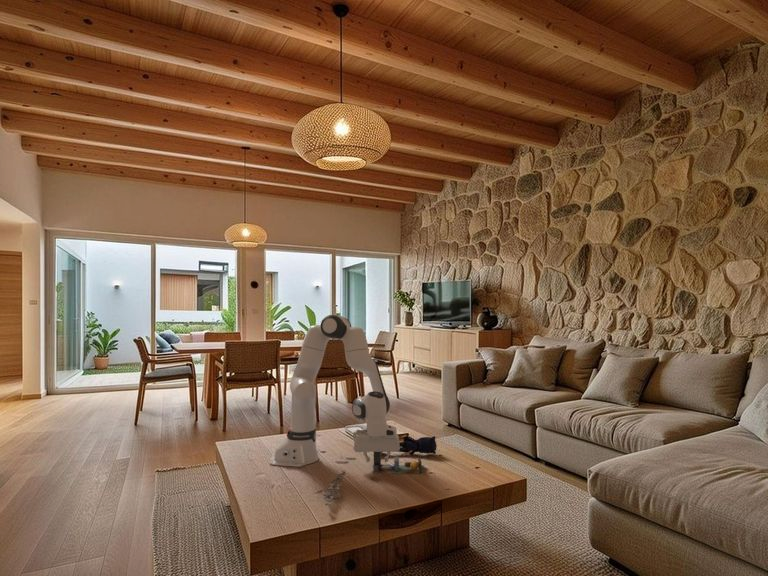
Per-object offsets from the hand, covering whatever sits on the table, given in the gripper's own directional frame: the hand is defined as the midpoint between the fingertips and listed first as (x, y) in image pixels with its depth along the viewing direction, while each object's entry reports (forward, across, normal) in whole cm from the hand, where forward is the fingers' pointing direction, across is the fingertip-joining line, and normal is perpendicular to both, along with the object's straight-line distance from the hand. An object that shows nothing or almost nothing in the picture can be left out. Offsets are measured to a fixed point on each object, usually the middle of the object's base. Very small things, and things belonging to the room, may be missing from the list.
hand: (377, 461), depth 199 cm
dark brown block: (+4, 0, 0) cm, 4 cm away
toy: (+4, +13, +19) cm, 23 cm away
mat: (+4, +14, 0) cm, 14 cm away
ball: (+2, +16, 0) cm, 16 cm away
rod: (+4, +4, 0) cm, 5 cm away
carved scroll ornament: (+4, -15, -27) cm, 31 cm away
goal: (+4, +15, 0) cm, 16 cm away
